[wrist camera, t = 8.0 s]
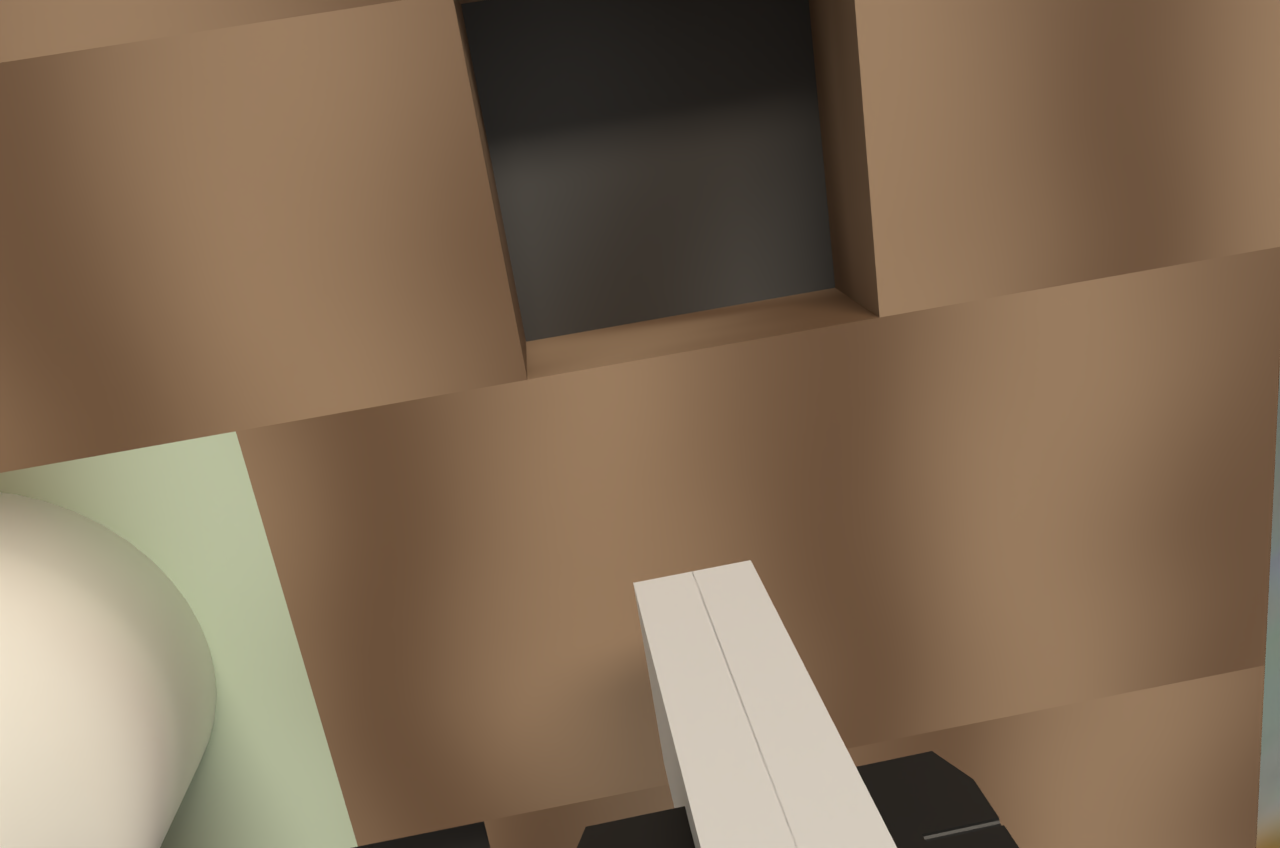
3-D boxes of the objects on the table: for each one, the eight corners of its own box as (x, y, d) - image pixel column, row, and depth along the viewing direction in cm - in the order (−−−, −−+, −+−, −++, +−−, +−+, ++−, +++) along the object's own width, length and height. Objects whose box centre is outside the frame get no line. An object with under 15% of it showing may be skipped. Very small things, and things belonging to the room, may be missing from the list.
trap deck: (-7, 1118, 21) (-183, 1470, 15) (-530, 37, 14) (-1140, 14, 9) (1171, 871, 22) (1374, 1118, 17) (1189, -221, 15) (1529, -371, 10)
